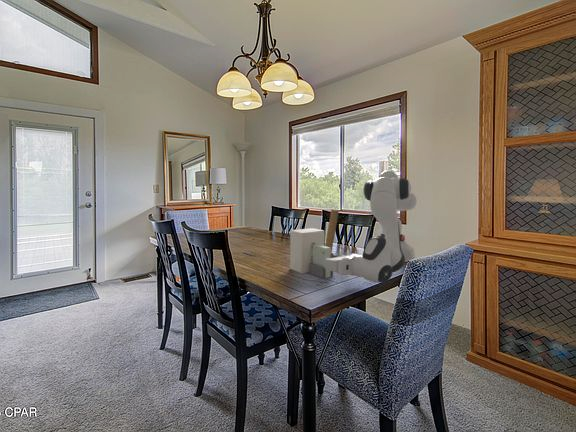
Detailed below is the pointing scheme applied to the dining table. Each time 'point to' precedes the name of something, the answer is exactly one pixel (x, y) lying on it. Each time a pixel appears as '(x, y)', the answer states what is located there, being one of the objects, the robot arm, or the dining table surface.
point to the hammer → (332, 230)
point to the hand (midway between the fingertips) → (333, 258)
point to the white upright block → (321, 257)
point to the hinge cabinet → (305, 250)
